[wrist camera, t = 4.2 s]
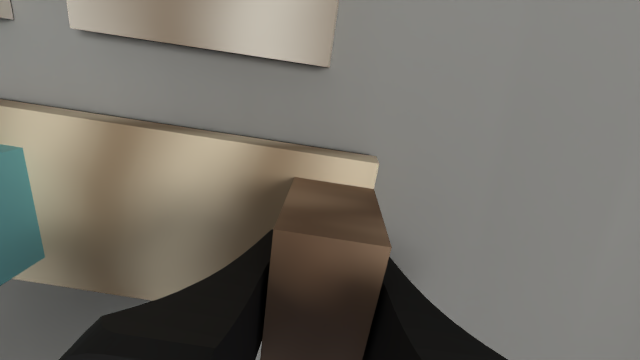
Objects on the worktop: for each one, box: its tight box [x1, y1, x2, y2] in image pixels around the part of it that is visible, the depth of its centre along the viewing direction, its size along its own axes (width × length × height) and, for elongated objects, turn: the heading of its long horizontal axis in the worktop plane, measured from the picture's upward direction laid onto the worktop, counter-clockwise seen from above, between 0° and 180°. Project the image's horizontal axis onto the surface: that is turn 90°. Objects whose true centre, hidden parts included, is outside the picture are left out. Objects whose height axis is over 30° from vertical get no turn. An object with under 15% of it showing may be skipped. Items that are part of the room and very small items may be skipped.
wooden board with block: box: [0, 99, 392, 360], centre depth 11 cm, size 20×8×5 cm, turn 82°
